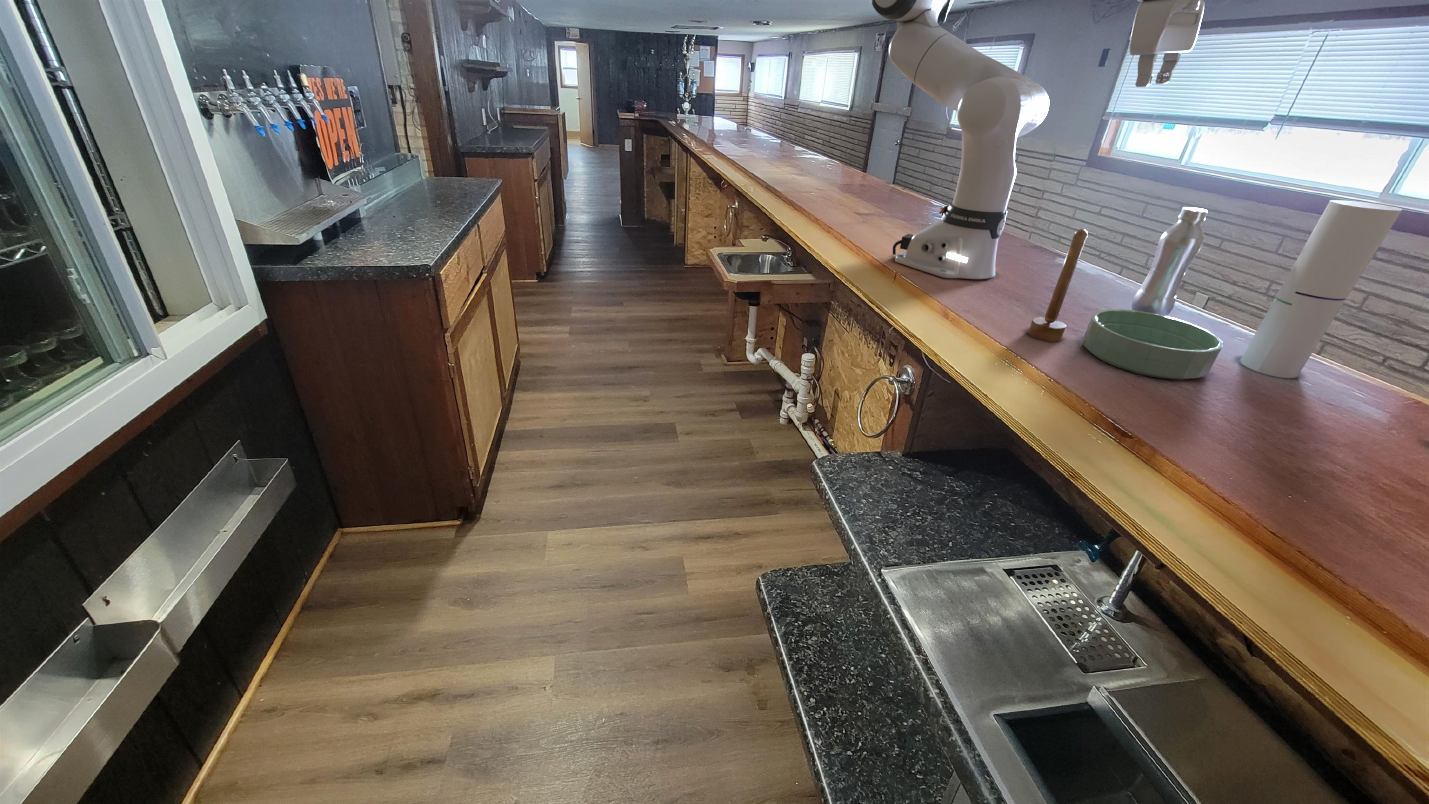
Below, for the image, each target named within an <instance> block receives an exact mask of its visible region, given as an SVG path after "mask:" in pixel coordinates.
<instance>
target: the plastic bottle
mask: <svg viewBox="0 0 1429 804" xmlns="http://www.w3.org/2000/svg"><path fill="white" fill-rule="evenodd" d="M1207 215H1208V210H1207V209H1204V208H1199V207H1189V206H1184V207H1182V209H1181V211H1180V214H1179V215H1178V217H1177V219H1178V220H1177V222H1175V223H1174V224H1172V225H1171V226H1169V227H1168V228H1167V229H1166V230H1165V231H1163V232H1162V234H1161V235H1160V237H1159V241H1158V243H1157V247H1156V249H1155V255H1154V258H1153V260H1152V263H1151V266H1150V268H1149V272H1147V275H1146V277H1145V279H1144V280H1143V282H1142V284H1141V286H1140V288H1139V289H1138V290H1137V291H1136V292H1135V294H1134V296H1133V298H1132V299H1131V304H1130V308H1131V310H1134V311H1142V312H1148V313H1153V314H1159V315H1163V316H1167V317H1168V316H1169V315H1170V313H1171V312H1172V310H1173V309H1174V307H1175V303H1176V300H1177V295H1178V292H1179V289H1180V286H1181V284H1182V281H1183V278H1184V277H1185V275H1186V273H1187V271H1188V269H1189V267H1190V266H1191V264H1192V262H1193V261H1194V260H1195V258H1196V256H1197V255H1198V253H1199V252H1200V250H1201V249H1202V248H1203V245H1204V244H1205V234H1204V230H1203V228H1202V223H1204V222H1205V220H1206V217H1207Z"/></svg>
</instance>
